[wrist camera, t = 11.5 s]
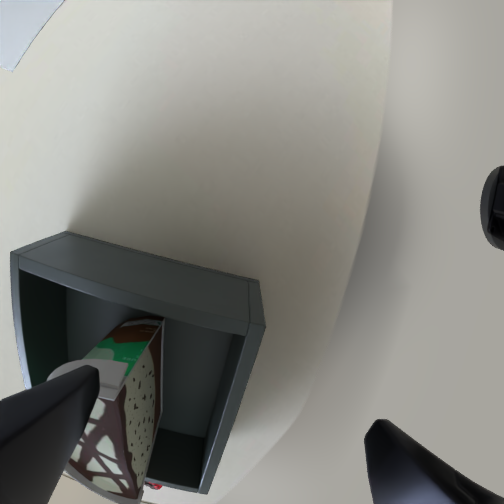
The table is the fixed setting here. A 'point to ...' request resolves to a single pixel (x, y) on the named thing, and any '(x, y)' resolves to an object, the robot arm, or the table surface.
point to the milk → (21, 27)
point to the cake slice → (121, 410)
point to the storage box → (175, 337)
